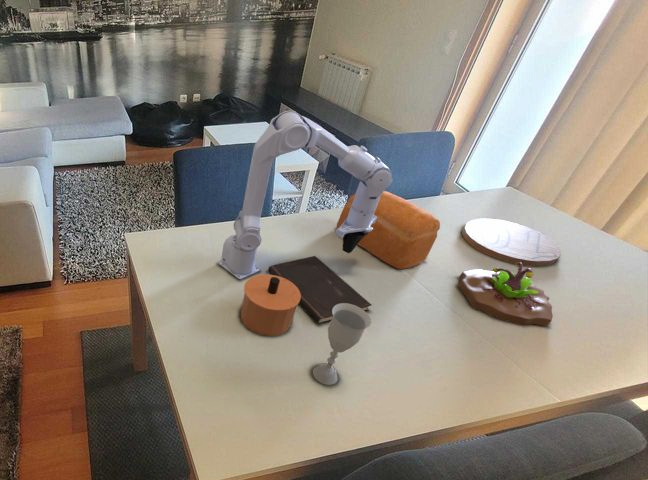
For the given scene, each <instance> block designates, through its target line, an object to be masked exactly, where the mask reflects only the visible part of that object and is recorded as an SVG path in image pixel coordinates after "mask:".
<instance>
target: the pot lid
mask: <svg viewBox="0 0 648 480" xmlns="http://www.w3.org/2000/svg"><path fill="white" fill-rule="evenodd" d="M243 293H245V295H246V297H247V298H248V299H249V300H250V301H251V302H252V303H253V304H255V305H256V306H258V307H260V308H263V309H266V310H270V311H287V310H290V309H293V308H294V307H296V306H297V307H298V305H299V302H300V299H301V294H300V291H299V289H298V288H297V287H296V286H295V285H294V284H293V283H292V282H290V281H289V280H287V279H285V278H282V277H279V276H275V275H271V274H259V275H254V276H252V277H250V278H249V279H247V281H245V284H244V287H243ZM297 307H296V308H297Z"/></svg>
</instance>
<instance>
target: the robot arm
mask: <svg viewBox="0 0 648 480" xmlns="http://www.w3.org/2000/svg"><path fill="white" fill-rule="evenodd" d="M314 146H317V147H318V148H320V149H322V150H324V151H325V152H327V153H328V154H330V155H331V156H333V157H335V158H336V159H337V165H338V167H340V168H341V169H342V170H344V171H345V172H347V173H348V174H350V175H352V177H354V178H356V179H358V180H359V182H358V183H359V184H358V186H357V188H356V192H355V193H356V194H355V193H354V194H355V197H354V200H353V203H352V205H351V208H350V211H349V214H348V217H347V219H346V220H345V221H344V223H343V224H342V225H341V226H340V227H339V228H338V229H335V230H336V231H335V233H334V236H336V237H338V238H340V239H342V251H343V252H345V253H347V254H351V253H352V252H353V251H354V250H355V248H356V247H357V246H358V243H359V242H360V240H361V239H362V238H363V237H364V236H366V235H367V234H368V232H370V231H372V229H373V228H372V227H370V226H371V224H374V223H375V221H376V219H377V217H376V216H374V212H375V210H376V207H377V205H378V202H379V200H380V197H381V195H382V194H383V191H386V189H387V188H389V187H390V186H391V185H392V183H393V181H394V179H393V172H392V170H391V169H390V168H389V167H388V166H387V165H386V164H384V162H382V160H381V159H380V158H379V157H378V156H375V157H374V156H373V155H371V154H370V153H368V149H367V147H365V146H364V145H360V146H359V145H353V144H352V145H346V144H345V143H343V142H342V141H340V139H338V137H335V136H334V135H332V134H331V133H330V132H329V131H327V130H326V129H325V128H323V127H322V126H321V125H320V124H318V123H317V122H314V120H311V119H310V118H308V117H306V116H303V115H301V116H300V115H299V113H298V112H296V111H295V110H285V111H283V112H280V113H279V114H277V115H276V116H274V117H273V118H272V119H270V123H269V124H268V126H267V128H266V129H265V131H263V133H262V134H261V136H260V137H259V138H258V139H257V141H256V142H255V143H254V145H253V150H252V155H251V160H250V166H249V171H248V177H247V181H246V186H245V187H246V188H245V193H244V197H243V204H242V209H241V210H239V212H238V216H237V218H236V219H235V220H234V222H233V230H234V232H235V234H232V235H230V236H228V237H226V239H225V241H224V242H223V244H222V245H223V246H222V250H221V257H220V258H221V259H220V261H218V265H220V266H221V267H222V268H223V269H225V270H226V271H228V273H230V274H231V275H233V276H234V277H235V278H237V279H238V280H242V279H245V278H247V277H249V276H251V275H254V274H256V273H259V272H260V271H261V270H260V268H259V267H257V266H256V265H255V261H256V257H257V252H258V248H259V247H260V245H261V244H262V235H261V227H262V226H261V223H262V222H261V221H262V220H261V216H262V212H263V208H264V203H265V199H266V195H267V194H266V193H267V189H268V184H269V180H270V176H271V172H272V167H273V163H274V159H276V158H278V157H280V156H282V155H286V154H288V153H292V152H296V151H298V150H300V149H303V148H304V147H305V148H306V149H309V148H311V147H314Z"/></svg>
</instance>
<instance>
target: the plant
mask: <svg viewBox="0 0 648 480" xmlns="http://www.w3.org/2000/svg"><path fill="white" fill-rule="evenodd" d="M515 267H516V268H518V269H517V273H514V272H512V271H510V270H509V269H507V268H503V267H494V268H492V270H483V269H469V270H467V271H462V272H461V273H460V275H459V277H458V279H459V280H460V282H459V284H458V288H459V290H460V291H461V293H462V294H463V295H464V296H465V298H466V299H467V300H468V302H469V305H471V307H472V308H474V309H475V310H478V311H480V312H483V313H486V314H488V315H489V316H491V317H493V318H495V319H499V320H500V321H501V320H502V321H504V322H505V321H506V322H509V323H513V324H518V325H522V326H524V325H529V324H531V325H538V326H542V327H548V325H550V323H551V322H552V320H553V310H552V309H553V306H552V304H551V303H550V302H549V300H550V297H549V296H547V295H546V294H545V291H544V290H543V289H542V288H540V287H538V286H536V285H534V284H533V282H532V279H531V278H533V277H534V271H533V270H532V268H528V267H527V268H525V269H524V270H523V267H524V265H522V263H521V262H518V263H517V264H515ZM524 276H525V277H524Z"/></svg>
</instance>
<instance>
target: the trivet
mask: <svg viewBox="0 0 648 480" xmlns="http://www.w3.org/2000/svg"><path fill="white" fill-rule="evenodd" d="M461 234H462V237H463V239H464V240H465V241H466V242H467V243H468V244H469V245H471V246H472V247H473V248H474V249H475V250H478V251H480V252H481V253H483V254H485V255H487V256H490V257H492V258H494V259H497V260H499V261H504V262H506V263H509V264H515V265H516V264H517V263H518V262H521V263H522V266H524V267H525V266H526V267H545V266H546V267H547V266H550V265H553V264H554V263H555V262H556V261H557V260H558V259H559V258H560V256H561V255H562V249H561V247H560V246H559V245H558V244H557V242H555V241H554V240H553V239H552V238H550V237H549V236H547V235H546V234H544V233H542V232H540V231H538V230H535V229H533V228H532V227H528V226H526V225H523V224H519V223H516V222H512V221H509V220H504V219H496V218H476V219H471V220H470V221H467V222H466V224H465V225H464V227H463V229H462V230H461Z"/></svg>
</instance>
